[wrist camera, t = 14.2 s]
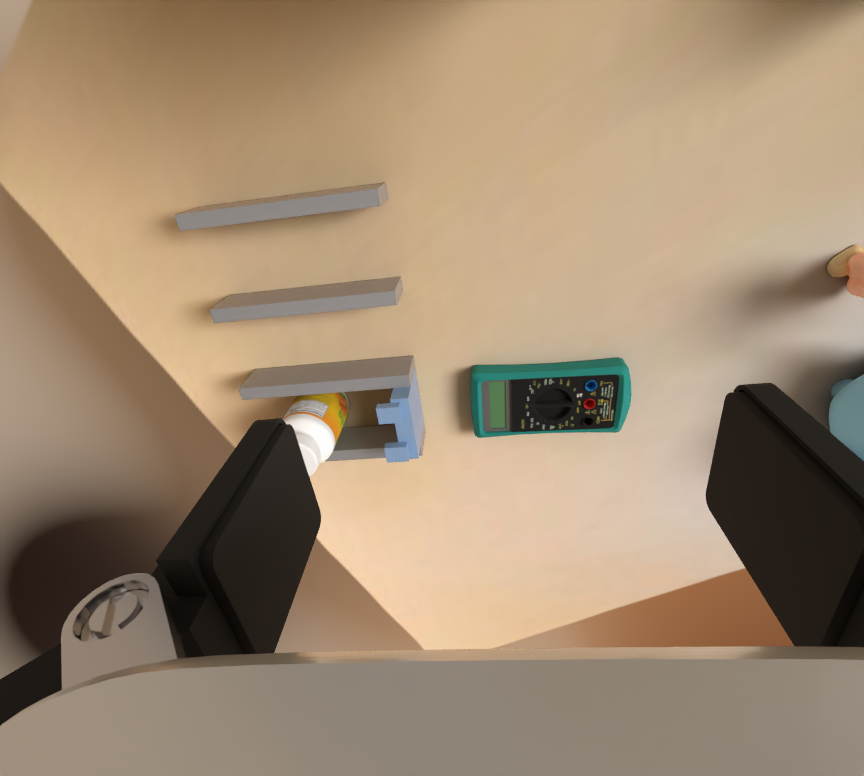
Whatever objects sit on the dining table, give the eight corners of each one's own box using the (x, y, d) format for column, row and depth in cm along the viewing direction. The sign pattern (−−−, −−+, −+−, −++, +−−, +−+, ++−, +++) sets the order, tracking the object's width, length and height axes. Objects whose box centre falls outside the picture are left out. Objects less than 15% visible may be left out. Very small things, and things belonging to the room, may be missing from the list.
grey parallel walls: (199, 206, 40) (152, 221, 34) (385, 182, 38) (370, 193, 32) (280, 441, 51) (255, 483, 46) (425, 432, 50) (419, 474, 44)
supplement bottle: (346, 428, 50) (322, 491, 42) (296, 417, 50) (261, 478, 41) (353, 385, 47) (328, 443, 39) (300, 374, 47) (264, 429, 39)
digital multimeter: (619, 419, 48) (628, 436, 45) (472, 425, 49) (473, 442, 47) (627, 354, 44) (637, 368, 42) (469, 362, 46) (469, 376, 43)
